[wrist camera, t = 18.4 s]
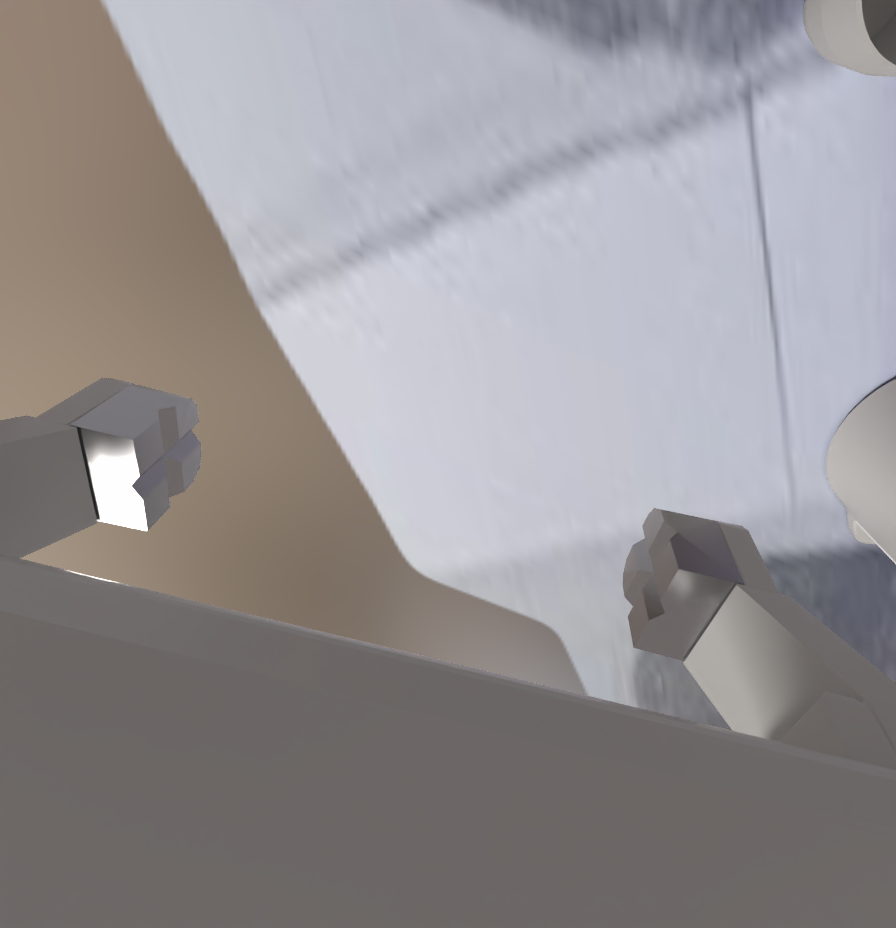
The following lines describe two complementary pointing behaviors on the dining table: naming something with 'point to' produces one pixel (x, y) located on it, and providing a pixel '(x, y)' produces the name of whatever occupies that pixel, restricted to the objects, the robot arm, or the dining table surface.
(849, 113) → the dining table surface
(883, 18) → the cup
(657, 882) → the robot arm
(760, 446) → the dining table surface
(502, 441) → the dining table surface
